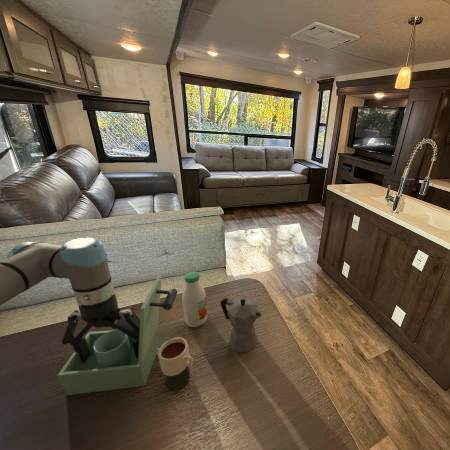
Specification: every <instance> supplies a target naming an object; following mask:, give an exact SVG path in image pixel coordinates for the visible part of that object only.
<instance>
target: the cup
mask: <svg viewBox="0 0 450 450" xmlns="http://www.w3.org/2000/svg"><path fill="white" fill-rule="evenodd" d="M109 331H110V332H108V333H105V334H104V335H102V336H100V337H99V338H98V339H97V340H96V341H95V342H94V344H93V351H94V354H95V357H96V360H97V362H98V364H99V366H100V368H108V367H118V366H127V365H128V363H129V362H130V359H131V347H130V343H129V339H128V336H127V334H125V333H123V332H122V331H120V330H118V329H113V331H111V330H109Z"/></svg>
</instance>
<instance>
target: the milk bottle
mask: <svg viewBox="0 0 450 450" xmlns="http://www.w3.org/2000/svg"><path fill="white" fill-rule="evenodd" d="M200 279H201V278H200V274H199V272H197V271H190V272H187V273H185V275H184V283H185V286H184V289H183V290H182V295H181V300H182V301H181V302H182V309H183V317H184V323H185V324H186V326H188V327H190V328H198V327H201V326H202V325H204V324H205V323H206V322H207V319H208V307H207V297H206V296H207V295H206V291H205V288H204V287H203V285H202V284H201V282H200Z"/></svg>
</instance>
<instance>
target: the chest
mask: <svg viewBox="0 0 450 450" xmlns="http://www.w3.org/2000/svg"><path fill="white" fill-rule="evenodd" d="M113 330H114V329H113ZM113 330H101V331H87V333H86V334H85V335H84V338H86V341H87V344H88V347H89V350H90V353H91V354H90V356H89V358H88V359H87V361H86V362H85V363H82V361H81V359H80V356H79V353H76V352H75V351H74V352H73V353H72V354H71V355H70V357H69V359H68V360H67V361H66V362H65V364H64V365H63V367H62V368H61V370H60V371H59V372H58V374H57V379H58V380H59V382H60V385H61V387H62V389H63V391H64V394H65V396H72V395H79V394H80V395H81V394H88V393H96V392H105V391H112V390H120V389H127V388H128V389H129V388H135V387H145V386H146V384H147V382H148V379H149V376H150V372H151V370H152V368H153V365H154V362H155V359H156V357H157V353H156V349H157V348H160V347H161V341H160V336H159V331H158V328H157V329H156V332H155V334H154V337H153V339H152V341H151V344H150V346H149V349H148V351H147V353H146V356H145V358H144V361H143V363H142V365H138V360H139V358H136V356H135V351H134V347H133V343H132V341H133V338H131V337H130V336H128V335H127V336H128V339H129V343H130V347H131V359H130V362H129V363H128V365H127V366H118V367H108V368H100V366H99V364H98V362H97V360H96V357H95V354H94V351H93V344H94V342H95V341H96V340H97V339H98V338H99V337H100V336H102V335H104V334H105V333H108V332H110V331H113Z"/></svg>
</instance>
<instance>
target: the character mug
mask: <svg viewBox="0 0 450 450" xmlns="http://www.w3.org/2000/svg"><path fill="white" fill-rule="evenodd" d="M156 353H157V354H156V357H157V358H158V361H159V367H160V370H161V372H162V374H163V375H165V386H166V387H167V389H168V390H171V391H176V390H180V389H181V388H182V387H184V386H185V385H186V384H188V382H189V380H190V378H191V373H190V369H189V367H191V368H192V367H193V366H194V359H193V357H192V356H191V355H190V349H189V343H188V342H187V340H186V339H185V338H183V337H173V338H170V339H168V340H166V341H165V342H164V343H162V344H160V346H159V348H157V349H156Z"/></svg>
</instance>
